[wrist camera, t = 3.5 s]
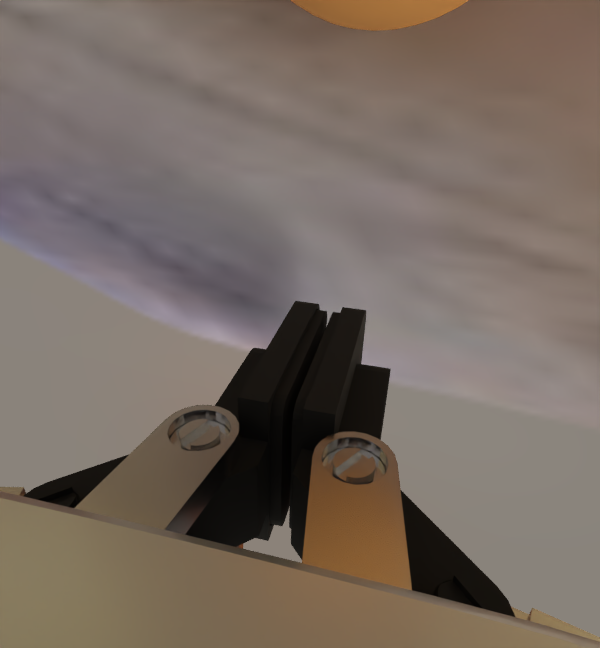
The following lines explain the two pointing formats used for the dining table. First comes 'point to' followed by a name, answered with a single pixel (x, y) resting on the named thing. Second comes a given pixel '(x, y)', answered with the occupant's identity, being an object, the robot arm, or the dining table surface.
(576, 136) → the dining table surface
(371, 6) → the ball
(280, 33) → the dining table surface
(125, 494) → the robot arm
